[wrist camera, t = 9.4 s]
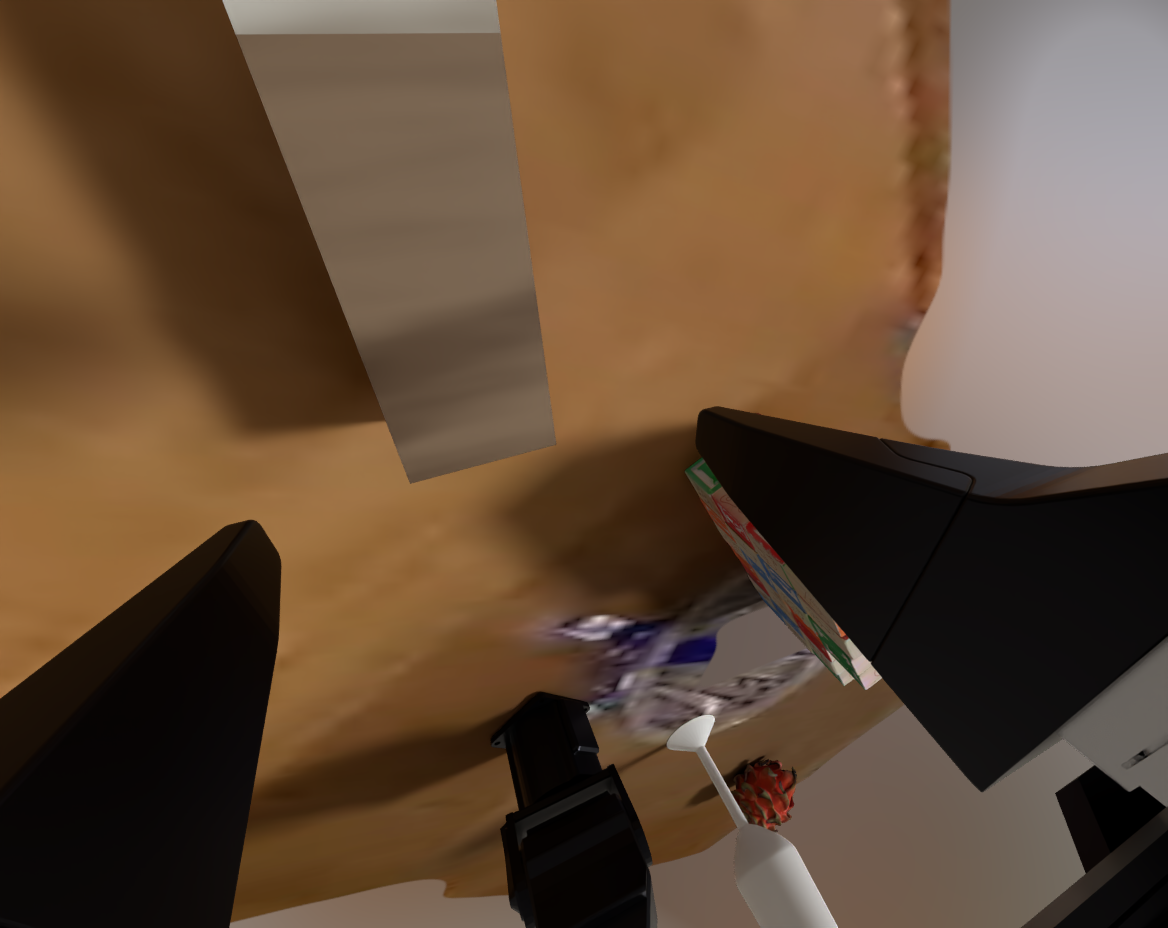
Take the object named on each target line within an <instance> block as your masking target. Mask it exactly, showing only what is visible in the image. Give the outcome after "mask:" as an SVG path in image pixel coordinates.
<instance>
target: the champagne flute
mask: <svg viewBox="0 0 1168 928" xmlns="http://www.w3.org/2000/svg"><path fill="white" fill-rule="evenodd" d="M714 722H715V718H714V716H712V715H703V716H699V717H697V718H694V719H692V720H690V721H689V722H687V723H685V724H684V725H682V726H681V727H680V728H679V729H677V730H676V731H675V732H674V733H673V734H672V735H671V737H670V738H669V740H668V742H667V747H668V749H671V750H681V751H693V752H697V754H698V756H699V758H700V760H701V762H702V763H703V765H704V767H705V769H706V771H707V772H708V774H709V776H710V778H711V780H712V782H713V783H714V785H715V787H716V789H717V791H718V792H719V794H720V796H721V798H722V800H723V802H724V803H725V805H726V807H727V809H728V811H729V813H730V814H731V816H732V818H733V820H734V822H735V823H736V825H737V827H738V829H739V833H738V836H737V839H736V847H735V855H734V874H735V882H736V884H737V888H738V889H739V891H740V893H741V894H742V896H743V898H744V900H745V901H746V903H747V905H748V907H749V908H750V910H751V912H752V913H753V915H754V917H755V918H756V920H757V922H758V924H759V925H760V927H761V928H838V926H837V924H836V923H835V921H834V919H833V917H832V915H831V913H830V911H829V909H828V908H827V906H826V904H825V902H824V900H823V898H822V896H821V895H820V893H819V891H818V889H817V887H816V885H815V883H814V882H813V880H812V878H811V876H810V874H809V872H808V870H807V868H806V867H805V865H804V863H803V861H802V859H801V857H800V855H799V853H798V851H797V850H796V848H795V847H794V846H793V844H792V843H790V842H789V841H788V840H787V839H785V838H784V837H782V836H781V835H779V834H777V833H776V832H773V831H771V830H768V829H766V828H763V827H761V826H758V825H753V824H749V823H748V822H747V820H746V818H745V816H744V815H743V813H742V811H741V809H740V808H739V806H738V804H737V802H736V801H735V799H734V797H733V795H732V794H731V792H730V790H729V788H728V787H727V785H726V783H725V781H724V780H723V778H722V776H721V774H720V773H719V771H718V769H717V767H716V766H715V764H714V762H713V760H712V758H711V757H710V755H709V753H708V751H707V750H706V748H705V744H706V741H707V739H708V736H709V734H710V732H711V729H712V727H713V724H714Z"/></svg>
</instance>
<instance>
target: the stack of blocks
mask: <svg viewBox="0 0 1168 928" xmlns="http://www.w3.org/2000/svg"><path fill="white" fill-rule="evenodd" d="M757 414H759V413H757ZM760 415H761V414H760ZM685 473H686V475H687V477H688V478H689V480H690V482H691V483H692V485H693V487H694V488H695V490H696V492H697V493H698V495H699V499H700V500H701V502H702V504H703V505H704V507H705V509H706V510H707V512H708V513H709V515H710V517H711V518H712V520H713V522H714V523H715V525H716V527H717V529H718V530H719V532H720V533H721V535H722V537H723V538H724V540H725V541H726V542H727V543H728V544H729V545H730V546H731V548H732V550H733V551H734V553H735V555H736V556H737V557H738V559H739V560H740V562H741V563H742V565H743V566H744V568H745V570H746V571H747V575H748V577H749V579H750V580H751V582H752V584H753V585H754V587H755V588H756V590H757V591H758V593H759V594H760V596H761V597H762V599H763V601H764V602H765V603H766V604H767V605H768V606H769V607H770V608H771V609H772V610H773V611H774V612H775V614H776V615H777V616H778V617H779V618H780V619H781V620H782V621H783V622H784V623H785V625H787V626H788V628H789V629H790V630H791V631H792V632H793V633H794V635H795V636H796V637H797V638H798V639H799V640H800V641H801V642H802V643H803V644H804V645H805V646H806V647H807V649H808V650H809V651H810V652H811V653H812V654H815V655H816V656H817V657H818V658H819V659H820V661H821V662H822V663H823V664H824V665H825V666H826V667H827V668H828V669H829V670H830V671H831V672H832V674H833V675H834V676H835V677H836V678H837V679H838V680H839V681H840V682H841V683H842V684H843V685H844V686H845V685H846V684H848V683H849V682H850V681H852V680H853V679H855V680H856V681H857V682H858V683H859V684H860V685H861V686H862V687H863V688H864V689H865V690H867V689H868V688H870V687H871V686H872V685H874V684H875V683H876V682H877V681H879V680H880V679H881V678H882V677H881V676H880V675H879V674H878V672H877V671H876V670H875V669H874V668H873V666H872V665H871V662H869V661H868V660H867V659H866V658H865V657H864V655H863V654H862V653H861V652H860V651H859V650H858V648H857V647H856V646H855V645H854V644H853V643H852V641H851V640H850V639H849V638H848V637H847V635H846V634H845V633H844V632H843V631H842V630H841V628H840V627H839V626H838V625H837V624H836V623H835V621H834V620H833V619H832V618H831V617H830V615H829V614H828V613H827V612H826V611H825V610H824V608H823V607H822V606H821V605H820V604H819V602H818V601H817V600H816V599H815V598H814V597H813V595H812V594H811V593H810V592H809V591H808V590H807V588H806V587H805V586H804V585H803V584H802V582H801V581H800V580H799V579H798V578H797V577H796V575H795V574H794V573H793V572H792V571H791V570H790V568H789V567H788V566H787V565H786V564H785V562H784V561H783V560H782V559H781V558H780V557H779V555H778V554H777V553H776V552H775V551H774V550H773V548H772V547H771V546H770V545H769V544H768V542H767V541H766V540H765V539H764V538H763V537H762V535H761V534H760V533H759V532H758V531H757V530H756V528H755V527H754V526H753V525H752V524H751V522H750V521H749V520H748V519H747V518H746V517H745V515H744V514H743V513H742V512H741V511H740V509H739V508H738V507H737V506H736V505H735V503H734V502H733V501H732V500H731V499H730V497H729V496H728V494H727V493H726V492H725V490H724V489H723V487H722V486H721V484H720V483H719V481H718V480H717V479H716V477H715V476H714V474H713V473H712V471H711V470H710V468H709V467H708V465H707V464H706V462H705V461H704V459H703V458H700V459H699V460H698V461H697V462H695V463H694V464H693V465H691V466H690V467H689V468H687V469H686V470H685Z"/></svg>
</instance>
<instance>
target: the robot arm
mask: <svg viewBox="0 0 1168 928" xmlns="http://www.w3.org/2000/svg"><path fill="white" fill-rule="evenodd" d="M695 442H696V448H697V450H698V452H699V453H700V455H701V456H702V458H703V459H704V461H705V462H706V464H707V465H708V467H709V468H710V470H711V471H712V473H713V474H714V476H715V477H716V479H717V480H718V481H719V483H720V484H721V486H722V487H723V489H724V490H725V492H726V493H727V494H728V496H729V497H730V499H731V500H732V501H733V502H734V503H735V505H736V506H737V507H738V508H739V509H740V511H741V512H742V513H743V514H744V515H745V517H746V518H747V519H748V520H749V521H750V522H751V524H752V525H753V526H754V527H755V528H756V530H757V531H758V532H759V533H760V534H761V535H762V537H763V538H764V539H765V540H766V541H767V542H768V544H769V545H770V546H771V547H772V548H773V550H774V551H775V552H776V553H777V554H778V555H779V557H780V558H781V559H782V560H783V561H784V562H785V564H786V565H787V566H788V567H789V568H790V570H791V571H792V572H793V573H794V574H795V575H796V577H797V578H798V579H799V580H800V581H801V582H802V584H803V585H804V586H805V587H806V588H807V590H808V591H809V592H810V593H811V594H812V595H813V597H814V598H815V599H816V600H817V601H818V602H819V604H820V605H821V606H822V607H823V608H824V610H825V611H826V612H827V613H828V614H829V615H830V617H831V618H832V619H833V620H834V621H835V623H836V624H837V625H838V626H839V627H840V628H841V630H842V631H843V632H844V633H845V634H846V635H847V637H848V638H849V639H850V640H851V641H852V643H853V644H854V645H855V646H856V647H857V648H858V650H859V651H860V652H861V653H862V654H863V655H864V657H865V658H866V659H867V660H868V661H869V662H871V665H872V666H873V668H874V669H875V670H876V671H877V672H878V674H879V675H880V676H881V677H882V678H883V679H884V681H885V682H886V683H887V684H888V685H889V687H890V688H891V689H892V690H893V691H894V692H895V694H896V695H897V696H898V697H899V698H900V699H901V701H902V702H903V703H904V704H905V705H906V706H907V708H908V709H909V710H910V711H911V712H912V714H913V715H914V716H915V717H916V718H917V719H918V721H919V722H920V723H921V724H922V725H923V727H924V728H925V729H926V730H927V731H928V732H929V734H930V735H931V736H932V737H933V738H934V740H935V741H936V742H937V743H938V744H939V745H940V747H941V748H942V749H943V750H944V751H945V752H946V754H947V755H948V756H949V757H950V758H951V760H952V761H953V762H954V763H955V764H956V766H958V768H959V769H960V770H961V771H962V772H963V774H964V775H965V776H966V777H967V778H968V779H969V780H970V782H971V783H972V784H973V785H974V786H975V787H976V788H977V789H978V790H980V791H981V792H984V791H986V790H987V789H989V788H990V787H992V786H993V785H995V784H996V783H998V782H999V781H1001V780H1002V779H1004V778H1005V777H1007V776H1008V775H1010V774H1011V773H1013V772H1014V771H1016V770H1017V769H1019V768H1020V767H1022V766H1023V765H1025V764H1026V763H1028V762H1029V761H1031V760H1032V759H1033V758H1035V757H1037V756H1038V755H1040V754H1041V753H1043V752H1044V751H1046V750H1047V749H1049V748H1050V747H1051V746H1053V745H1054V744H1056V743H1057V742H1059V741H1060V740H1062V739H1063V740H1065V741H1066V742H1067V743H1068V744H1069V745H1071V746H1072V747H1073V748H1074V749H1076V750H1077V751H1078V752H1079V753H1081V754H1082V755H1083V756H1084V757H1086V758H1087V759H1088V760H1089V761H1090V762H1092V763H1093V764H1094V766H1092V767H1091V768H1090V769H1089V770H1087V771H1086V772H1084V773H1083V774H1081V775H1080V776H1079V777H1077V778H1076V779H1074V780H1073V781H1072V782H1070V783H1069V784H1067V785H1066V786H1065V787H1063V788H1062V789H1061V790H1059V791H1058V792H1056V793H1055V794H1056V796H1057V799H1058V802H1059V805H1060V807H1061V810H1062V812H1063V815H1064V817H1065V820H1066V823H1067V826H1068V828H1069V831H1070V833H1071V836H1072V839H1073V841H1074V844H1075V846H1076V849H1077V852H1078V854H1079V857H1080V860H1081V862H1082V865H1083V867H1084V870H1085V872H1086V874H1085V875H1084V876H1083V877H1082V878H1080V879H1079V880H1078V881H1077V882H1075V883H1074V884H1073V885H1072V886H1071V887H1069V888H1068V889H1067V890H1066V891H1065V892H1063V893H1062V894H1061V895H1060V896H1059V897H1057V898H1056V899H1055V900H1054V901H1053V902H1051V903H1050V904H1049V905H1048V906H1047V907H1045V908H1044V909H1043V910H1042V911H1041V912H1039V913H1038V914H1037V915H1036V916H1035V917H1033V918H1032V919H1031V920H1030V921H1028V922H1027V923H1026V924H1025V925H1024V926H1022V927H1021V928H1168V453H1164V454H1159V455H1154V456H1148V457H1144V458H1138V459H1133V460H1128V461H1122V462H1117V463H1112V464H1106V465H1100V466H1090V467H1054V466H1045V465H1038V464H1032V463H1025V462H1019V461H1012V460H1006V459H1000V458H993V457H986V456H980V455H974V454H967V453H960V452H955V451H949V450H943V449H937V448H931V447H926V446H920V445H915V444H909V443H904V442H899V441H893V440H888V439H883V438H881V439H878V438H877V437H873V436H867V435H862V434H857V433H852V432H847V431H842V430H837V429H832V428H826V427H821V426H816V425H811V424H806V423H801V422H796V421H791V420H785V419H780V418H775V417H770V416H765V415H760V414H755V413H750V412H744V411H739V410H734V409H729V408H724V407H719V406H716V407H711V408H707V409H703V410H702V411H700V413H699V415H698V421H697V430H696V440H695ZM280 592H281V559H280V556H279V553H278V551H277V550H276V548H275V547H274V545H273V543H272V542H271V540H270V539H269V537H268V536H267V534H266V532H265V531H264V529H263V528H262V526H261V525H260V524H259V523H258V522H257V521H255V520H247V521H242V522H238V523H234V524H230V525H227V526H225V527H223V528H222V529H221V530H220V531H218V532H217V533H216V534H214V535H213V536H212V537H210V538H209V539H208V540H206V541H205V542H204V543H203V544H201V545H200V546H199V547H197V548H196V549H195V550H193V551H192V552H191V553H190V554H188V555H187V556H186V557H184V558H183V559H182V560H180V561H179V562H178V563H176V564H175V565H174V566H173V567H171V568H170V569H169V570H167V571H166V572H165V573H163V574H162V575H161V576H160V577H158V578H157V579H156V580H154V581H153V582H152V583H150V584H149V585H148V586H146V587H145V588H144V589H143V590H141V591H140V592H139V593H137V594H136V595H135V596H133V597H132V598H131V599H130V600H128V601H127V602H126V603H124V604H123V605H122V606H120V607H119V608H118V609H116V610H115V611H114V612H113V613H111V614H110V615H109V616H107V617H106V618H105V619H103V620H102V621H101V622H100V623H98V624H97V625H96V626H94V627H93V628H92V629H90V630H89V631H88V632H86V633H85V634H84V635H83V636H81V637H80V638H79V639H77V640H76V641H75V642H73V643H72V644H71V645H70V646H68V647H67V648H66V649H64V650H63V651H62V652H60V653H59V654H58V655H56V656H55V657H54V658H53V659H51V660H50V661H49V662H47V663H46V664H45V665H43V666H42V667H41V668H40V669H38V670H37V671H36V672H34V673H33V674H32V675H30V676H29V677H28V678H26V679H25V680H24V681H23V682H21V683H20V684H19V685H17V686H16V687H15V688H13V689H12V690H11V691H10V692H8V693H7V694H6V695H4V696H3V697H2V698H0V928H229V926H230V920H231V915H232V909H233V903H234V897H235V891H236V886H237V880H238V874H239V868H240V862H241V857H242V851H243V845H244V839H245V833H246V828H247V822H248V816H249V810H250V804H251V799H252V793H253V787H254V781H255V775H256V770H257V764H258V758H259V752H260V746H261V741H262V735H263V729H264V723H265V717H266V712H267V706H268V700H269V694H270V689H271V683H272V677H273V671H274V665H275V660H276V654H277V647H278V639H279V622H280ZM589 710H590V707H589V704H588V703H587V702H583V701H579V700H574V699H570V698H565V697H561V696H556V695H552V694H548V693H540V694H538V695H536V696H535V697H534V698H533V699H532V700H531V701H530V702H529V703H528V704H527V705H526V706H525V707H524V708H523V709H522V710H521V711H519V712H518V713H517V714H516V715H515V716H514V717H513V718H512V719H511V720H510V721H509V722H508V723H507V724H506V725H505V726H504V727H503V728H502V729H501V730H500V731H499V732H498V733H497V734H495V735H494V736H493V737H492V738H491V746H492V747H497V748H506V751H507V756H508V760H509V765H510V770H511V775H512V779H513V784H514V789H515V793H516V798H517V803H518V808H519V811H517V812H515V813H513V812H511V813H509V814H507V815H506V824H505V825H504V826H503V827H502V828H501V829H500V830H501V836H502V842H503V847H504V854H505V861H506V872H507V882H508V893H509V901H510V906H511V908H512V909H513V910H515V911H517V912H518V913H520V915H521V919H522V921H524V922H525V926H526V928H657V913H656V907H655V900H654V894H653V888H652V881H651V875H650V871H649V869H648V867H649V866H651V865H652V858H651V853H650V850H649V846H648V843H647V840H646V837H645V834H644V832H643V829H642V826H641V824H640V821H639V819H638V816H637V814H636V812H635V810H634V807H633V805H632V803H631V801H630V799H629V797H628V794H627V792H626V790H625V788H624V786H623V783H622V781H621V779H620V777H619V775H618V772H617V770H616V768H615V766H614V764H611V765H609V766H607V768H606V769H604V770H602V768H601V765H600V762H599V760H598V757H597V753H598V752H599V747H598V744H597V742H596V739H595V736H594V734H593V731H592V728H591V726H590V723H589V720H588V718H587V715H586V713H587V712H588V711H589Z"/></svg>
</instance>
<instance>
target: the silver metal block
mask: <svg viewBox="0 0 1168 928" xmlns="http://www.w3.org/2000/svg"><path fill="white" fill-rule="evenodd" d="M222 1H223V3H224V6H225V8H226V11H227V13H228V16H229V19H230V21H231V24H232V26H233V29H234V31H235V34H236V37H237V39H238V42H239V44H240V47H241V49H242V52H243V55H244V57H245V60H246V62H247V65H248V67H249V70H250V73H251V75H252V78H253V80H254V83H255V86H256V88H257V91H258V93H259V96H260V98H261V101H262V104H263V106H264V109H265V111H266V114H267V116H268V119H269V122H270V124H271V127H272V129H273V132H274V134H275V137H276V140H277V142H278V145H279V147H280V150H281V152H282V155H283V158H284V160H285V163H286V165H287V168H288V171H289V173H290V176H291V178H292V181H293V183H294V186H295V189H296V191H297V194H298V196H299V199H300V201H301V204H302V207H303V209H304V212H305V214H306V217H307V219H308V222H309V225H310V227H311V230H312V232H313V235H314V237H315V240H316V243H317V245H318V248H319V250H320V253H321V256H322V258H323V261H324V263H325V266H326V268H327V271H328V274H329V276H330V279H331V281H332V284H333V286H334V289H335V292H336V294H337V297H338V299H339V302H340V304H341V307H342V310H343V312H344V315H345V317H346V320H347V322H348V325H349V328H350V330H351V333H352V335H353V338H354V341H355V343H356V346H357V348H358V351H359V353H360V356H361V359H362V361H363V364H364V366H365V369H366V371H367V374H368V377H369V379H370V382H371V384H372V387H373V389H374V392H375V395H376V397H377V400H378V402H379V405H380V408H381V410H382V413H383V415H384V418H385V420H386V423H387V426H388V428H389V431H390V433H391V436H392V438H393V441H394V444H395V446H396V449H397V451H398V454H399V456H400V459H401V462H402V464H403V467H404V469H405V472H406V474H407V477H408V480H409V482H410V484H411V483H415V482H418V481H422V480H426V479H429V478H433V477H437V476H441V475H444V474H448V473H452V472H456V471H459V470H463V469H467V468H471V467H474V466H478V465H482V464H486V463H489V462H493V461H497V460H501V459H504V458H508V457H512V456H515V455H519V454H523V453H527V452H530V451H534V450H538V449H542V448H545V447H549V446H553V445H556V439H555V432H554V424H553V417H552V409H551V402H550V395H549V387H548V380H547V373H546V365H545V358H544V350H543V343H542V336H541V328H540V321H539V314H538V306H537V299H536V291H535V284H534V277H533V269H532V262H531V255H530V247H529V240H528V232H527V225H526V218H525V210H524V203H523V196H522V188H521V181H520V173H519V166H518V159H517V151H516V144H515V137H514V129H513V122H512V115H511V107H510V100H509V92H508V85H507V78H506V70H505V63H504V56H503V48H502V41H501V33H500V26H499V19H498V11H497V4H496V0H222Z"/></svg>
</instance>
